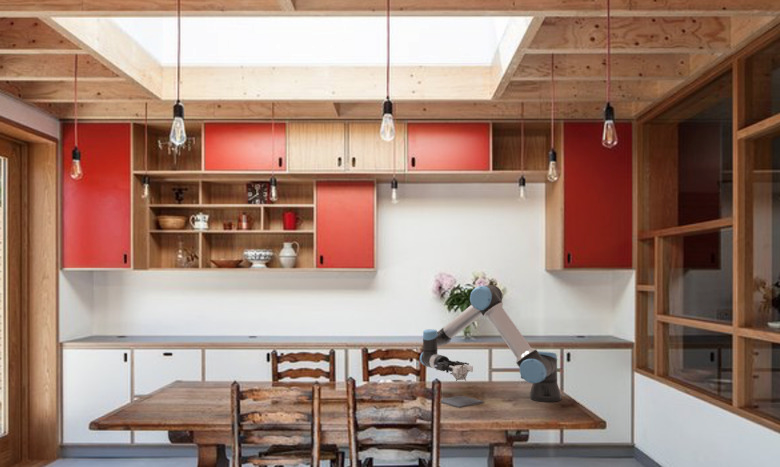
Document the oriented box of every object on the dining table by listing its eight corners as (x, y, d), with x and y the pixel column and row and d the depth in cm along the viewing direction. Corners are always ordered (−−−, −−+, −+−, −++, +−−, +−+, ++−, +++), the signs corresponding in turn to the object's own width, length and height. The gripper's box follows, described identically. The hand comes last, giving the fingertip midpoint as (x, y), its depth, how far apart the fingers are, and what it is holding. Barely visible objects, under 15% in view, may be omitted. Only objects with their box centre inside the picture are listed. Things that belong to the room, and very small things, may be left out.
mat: (460, 397, 317) (460, 395, 317) (483, 402, 304) (483, 401, 304) (436, 401, 307) (436, 400, 307) (459, 407, 294) (459, 406, 294)
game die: (462, 388, 304) (467, 374, 299) (446, 381, 306) (451, 367, 301) (468, 377, 311) (473, 362, 306) (452, 370, 313) (456, 355, 308)
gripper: (457, 368, 327) (482, 375, 306) (422, 371, 317) (446, 379, 297) (457, 353, 327) (482, 360, 307) (422, 356, 318) (446, 363, 297)
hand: (464, 369), depth 302 cm, fingers closed on game die, 8 cm apart
